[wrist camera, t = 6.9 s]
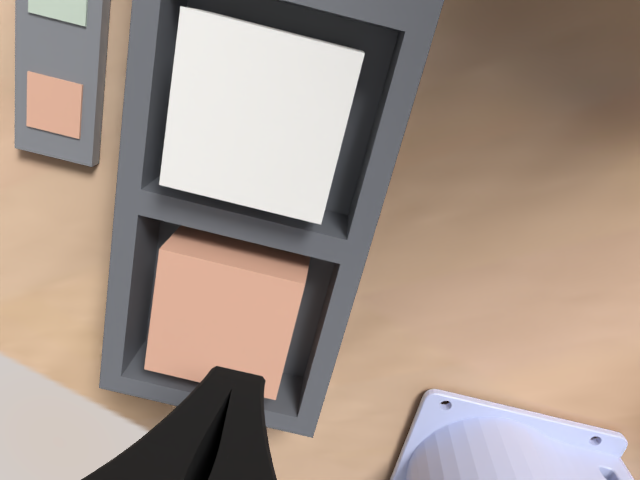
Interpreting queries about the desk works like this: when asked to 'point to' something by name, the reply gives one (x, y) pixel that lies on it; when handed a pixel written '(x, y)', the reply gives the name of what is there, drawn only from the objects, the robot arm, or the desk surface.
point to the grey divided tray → (253, 224)
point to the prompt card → (60, 77)
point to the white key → (256, 114)
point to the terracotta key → (223, 307)
